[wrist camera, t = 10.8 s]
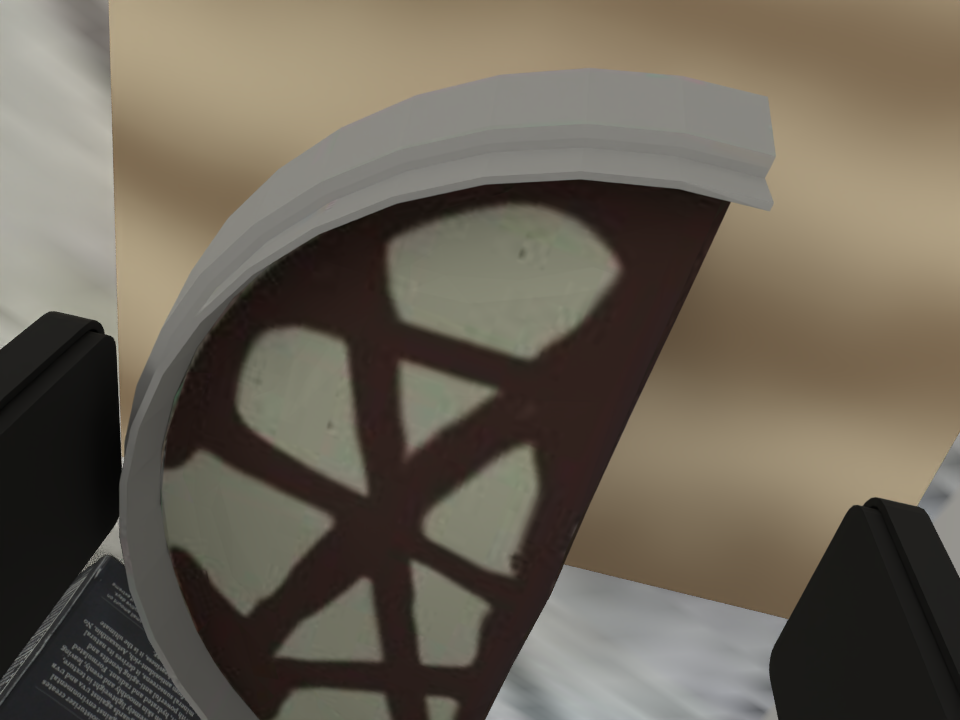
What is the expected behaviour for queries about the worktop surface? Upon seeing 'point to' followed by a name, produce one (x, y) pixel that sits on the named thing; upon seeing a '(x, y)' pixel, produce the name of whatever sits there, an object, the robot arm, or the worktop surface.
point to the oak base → (719, 283)
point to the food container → (416, 386)
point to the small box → (92, 659)
